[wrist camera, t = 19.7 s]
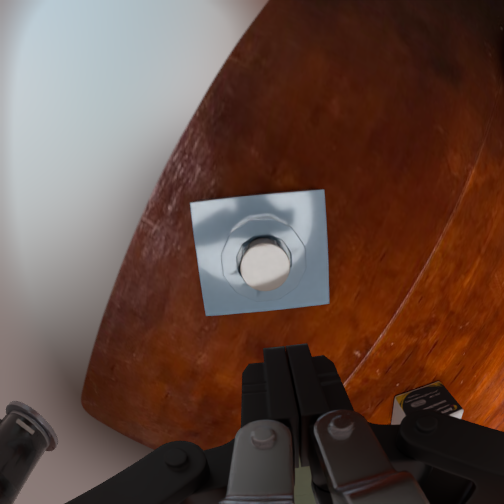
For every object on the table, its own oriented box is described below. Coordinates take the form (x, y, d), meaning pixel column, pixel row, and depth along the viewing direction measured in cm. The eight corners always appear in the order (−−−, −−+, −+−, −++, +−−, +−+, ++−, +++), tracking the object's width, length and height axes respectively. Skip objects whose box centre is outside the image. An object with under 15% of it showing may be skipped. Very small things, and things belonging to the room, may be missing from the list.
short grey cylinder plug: (243, 284, 25) (242, 293, 23) (238, 240, 24) (237, 245, 22) (288, 280, 25) (292, 288, 23) (285, 235, 24) (288, 240, 22)
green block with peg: (265, 466, 36) (271, 553, 21) (262, 437, 34) (267, 535, 20) (335, 457, 36) (358, 540, 21) (339, 427, 34) (368, 518, 19)
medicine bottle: (439, 379, 33) (484, 433, 21) (431, 415, 35) (467, 468, 23) (393, 395, 33) (432, 459, 21) (389, 430, 35) (418, 491, 23)
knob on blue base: (209, 303, 30) (202, 326, 25) (195, 200, 28) (184, 204, 23) (322, 292, 30) (335, 313, 25) (316, 188, 27) (330, 190, 23)
